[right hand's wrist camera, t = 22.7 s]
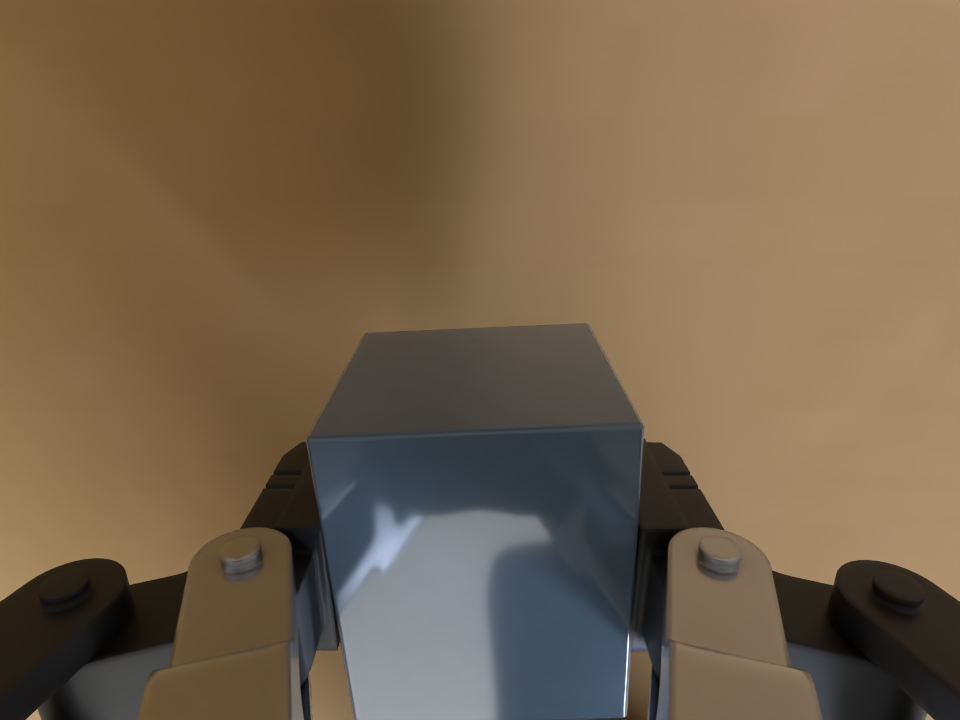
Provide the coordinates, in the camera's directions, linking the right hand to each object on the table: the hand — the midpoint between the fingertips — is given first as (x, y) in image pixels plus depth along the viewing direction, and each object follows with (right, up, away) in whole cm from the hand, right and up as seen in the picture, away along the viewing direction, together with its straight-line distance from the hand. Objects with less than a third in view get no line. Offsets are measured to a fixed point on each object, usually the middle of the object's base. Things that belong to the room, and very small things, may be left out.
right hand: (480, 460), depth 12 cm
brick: (0, 0, 0) cm, 0 cm away
